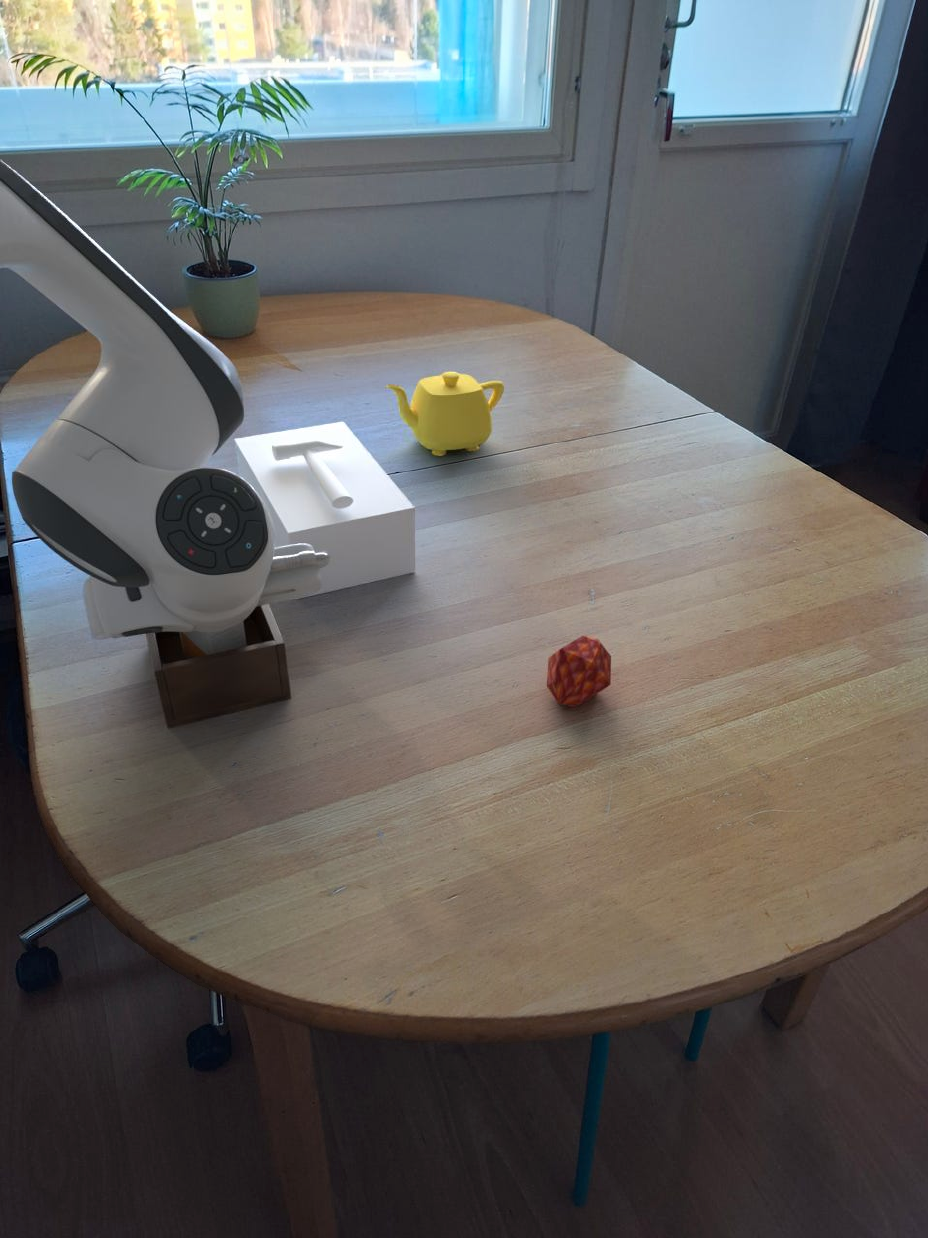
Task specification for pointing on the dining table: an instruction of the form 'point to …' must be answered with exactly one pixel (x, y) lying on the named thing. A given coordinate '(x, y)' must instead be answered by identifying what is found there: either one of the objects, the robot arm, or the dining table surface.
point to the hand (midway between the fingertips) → (206, 607)
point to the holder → (221, 673)
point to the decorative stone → (579, 671)
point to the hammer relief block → (332, 502)
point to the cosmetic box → (212, 641)
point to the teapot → (449, 411)
